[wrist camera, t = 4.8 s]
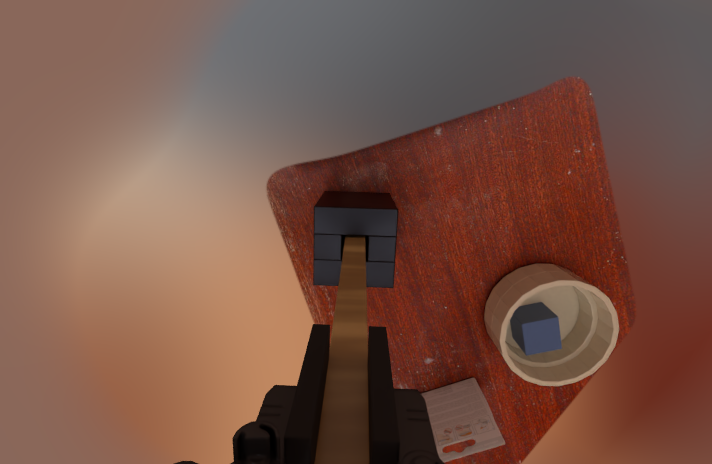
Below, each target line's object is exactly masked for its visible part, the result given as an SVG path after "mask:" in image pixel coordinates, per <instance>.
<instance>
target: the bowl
mask: <svg viewBox="0 0 712 464" xmlns="http://www.w3.org/2000/svg"><path fill="white" fill-rule="evenodd" d="M538 302H542V303H544V304H545V305H546V306H547V307H548V308H549V309H550V310H551V311H552V312H553V313H555V314H556V315H557V316H558V318H559V327H560V335H561V344H562V349H559V350H554V351H548V352H543V353H538V354H533V355H528V356H526V355H525V353H524V352H523V351H522V349H521V348H520V347H519V346H518V344H517V343H516V342H515V340H514V339H513V337H512V331H511V324H510V319H511V317H512V315H513V313H514V311H515V310H516V309H517V308H518V307H519V306H523V305H528V304H533V303H538ZM484 321H485V325H486V330H487V333H488V335H489V336H490V338H491V339H492V341H493V342H494V344H495V346H496V347H497V349H498V350H499V352H500V353H501V355H502V356H503V358H504V359H505V361H506V363H507V364H508V366H509V367H510V369H511V370H512V371H513V372H515V373H516V374H517V375H519V376H520V377H521V378H523V379H524V380H526V381H529V382H532V383H535V384H538V385H542V386H562V385H566V384H570V383H575V382H578V381H580V380H581V379H583V378H585V377H587V376H589V375H591V374H593V373H594V372H595V371H596V370H597V369H598V368H599V367H600V366H601V365H603V364H604V363H605V362H606V361H607V359H608V357H609V356H610V354H611V352H612V351H613V349H614V347H615V345H616V341H617V336H618V332H619V324H618V317H617V312H616V310H615V308H614V306H613V305H612V303H611V301H610V299H609V298H608V297H607V296H606V295H605V294H603V293H602V292H601V291H600V290H599V289H597V288H596V287H595V286H593V285H592V284H590V283H588V282H587V281H585V280H584V279H582V278H581V277H579V276H577V275H576V274H574V273H573V272H571V271H570V270H568V269H565V268H562V267H560V266H557V265H554V264H538V263H536V264H532V265H529V266H525V267H521V268H518V269H516V270H515V271H513V272H511V273H510V274H508V275H506V276H505V277H503V278H502V280H501V281H500V282H499V283H498V284H497V285H496V286H495V287H494V288H493V290H492V292H491V294H490V296H489V298H488V300H487V302H486V306H485V314H484Z"/></svg>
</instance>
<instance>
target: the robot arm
mask: <svg viewBox="0 0 712 464" xmlns="http://www.w3.org/2000/svg"><path fill="white" fill-rule="evenodd" d="M329 347H330V325H320V324H313V327H312V330H311V334H310V338H309V342H308V346H307V349H306V354H305V357H304V361H303V365H302V369H301V373H300V377H299V380H298V384H297V386H285V385H275V386H273V388H272V389H271V390H270V391H269V392H268V393H267V394H266V395H265V398H264V401H263V404H262V407H261V409H260V412H259V415H258V417H257V420H256V421H255V422H250V423H248V424H246V425H244V426H242V427H241V428H240V429H239V430H238V431H237V432H236V433H235V435H234V437H233V454H234V462H233V463H231V464H314V463H315V456H316V448H317V441H318V434H319V427H320V420H321V412H322V405H323V398H324V391H325V384H326V376H327V369H328V362H329ZM368 404H369V456H370V464H444V462H443V461H442V460H441V459H440V458H439V455H438V452H437V448H436V444H435V440H434V435H433V431H432V427H431V423H430V419H429V414H428V412H427V406H426V402H425V399H424V397H423V396H422V395H421V394H420V393H419V391H418V390H415V389H394V388H393V380H392V372H391V364H390V356H389V348H388V340H387V332H386V327H373V326H369V338H368ZM175 464H198V463H195V462H193V461H181V462H178V463H175Z"/></svg>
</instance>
